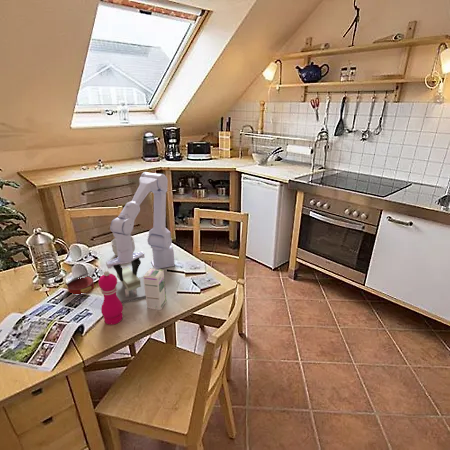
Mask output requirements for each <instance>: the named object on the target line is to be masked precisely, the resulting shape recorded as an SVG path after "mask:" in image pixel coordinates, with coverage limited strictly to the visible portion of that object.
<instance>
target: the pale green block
mask: <svg viewBox="0 0 450 450" xmlns="http://www.w3.org/2000/svg"><path fill="white" fill-rule="evenodd" d="M122 275H123V281H121V280H120V278H119V276H118V274H117V273H116V278H117V279H118V280H119V282H122V283H123V285H124V286H125V287H126V289H127V290H128V291H130V290H133V289H136V288H138V287H141V284H140V280H139V278H140V277H138V276H136V275H135V274H134V273H133V272H132V268H131V269H130V267H129V266H126V267H124V268H123V267H122Z"/></svg>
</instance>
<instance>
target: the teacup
mask: <svg viewBox="0 0 450 450" xmlns="http://www.w3.org/2000/svg"><path fill="white" fill-rule="evenodd" d="M131 241H132V249H133V253H135V250H136V247H135V245H136V244H135V238H134V237H133V236H131ZM110 244H111V248H112V252H113V254H114V255H115V256H117V257H118V255H117V247H116V240H115V238H114V239H112V240H111V242H110Z"/></svg>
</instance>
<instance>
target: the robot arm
mask: <svg viewBox="0 0 450 450" xmlns="http://www.w3.org/2000/svg"><path fill="white" fill-rule="evenodd" d="M138 183H139V185H138V187H137V189H136V191H135V193H134V194H133V197H132V199H131V201H127V202H126V203H125V206H123V208H122V210H121V212H119V215H118V216H117V217H116V218H113V219H112V220H111V223H110V227H109V230H110V231H111V232H112V235H113V237H114V239H115V240H116V247H117V255H118V256H117V255H116V256H117V257H115V258H113V259H111V260H108V261H106V262H105V263H106V267H107V269H108V270H110V269H111V268H113V269H114V270H115V271H116V275H117V274H118V276H119V278H120V280H121V281H123V275H122V269H123V267H122V264H131V271H132V272H133V273H134V274H135V275H136V276H137V274H138V270H139V267H140V265H141V260H140V259H144V258H145V253H144V252H143V251H139V252H133V249H132V241H131V237H132V235H131V233H132V231H134V225H135V220H136V218H137V216H138V215H139V213H140V211H141V207H140V206H141V204H142V203H143V201H144V200H145V198H146V197H147V195H148V194H149V193H152V194H153V225H152V226H153V227H152V228H151V229H149V231H148V236H147V239H146V240H147V245H149V246H150V248H151V249H152V250H151V251H152V260H151V264H152V267H153V268H155V269H165V268H170V267H174V265H175V264H176V263H175V251H174V248H173V246H172V243H173V239H172V236H171V235H172V234H171V233H172V232H171V231H170V230H169V229H168V228H167V227H166V218H167V217H166V211H167V210H166V208H167V206H166V205H167V204H166V203H167V193H168V183H169V182H168V177H167V176H166V175H165V174H164V173H154V172H148V171H144V172H142V173H141V175H140V177H139V178H138ZM137 277H138V276H137ZM119 278H118V279H119ZM120 280H119V281H120ZM121 281H120V282H121Z"/></svg>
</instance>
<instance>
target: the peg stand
mask: <svg viewBox="0 0 450 450" xmlns="http://www.w3.org/2000/svg"><path fill="white" fill-rule="evenodd" d="M138 278H139V280H140V284H141V287H138V288H136V289H133V290H130V291H128V290H127V289H126V287H125V286H124V285H123V283H122V282H121V281H117V284H116V286H117V291H116V295H117V297H118V299H119V300H120V301H121V303H122V304H125V303H130V302H134V301H138V300H142V299H146V294H145V286H144V278H143V276H140V277H138Z"/></svg>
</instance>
